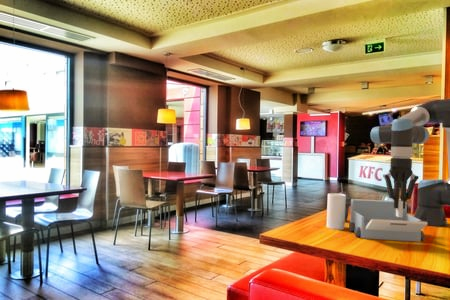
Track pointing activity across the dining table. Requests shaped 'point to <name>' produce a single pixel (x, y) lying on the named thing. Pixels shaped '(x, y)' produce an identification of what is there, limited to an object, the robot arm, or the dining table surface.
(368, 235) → the truck bed
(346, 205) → the beverage cup
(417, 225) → the tailgate
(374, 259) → the dining table surface
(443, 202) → the robot arm
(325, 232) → the dining table surface
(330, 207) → the cup
